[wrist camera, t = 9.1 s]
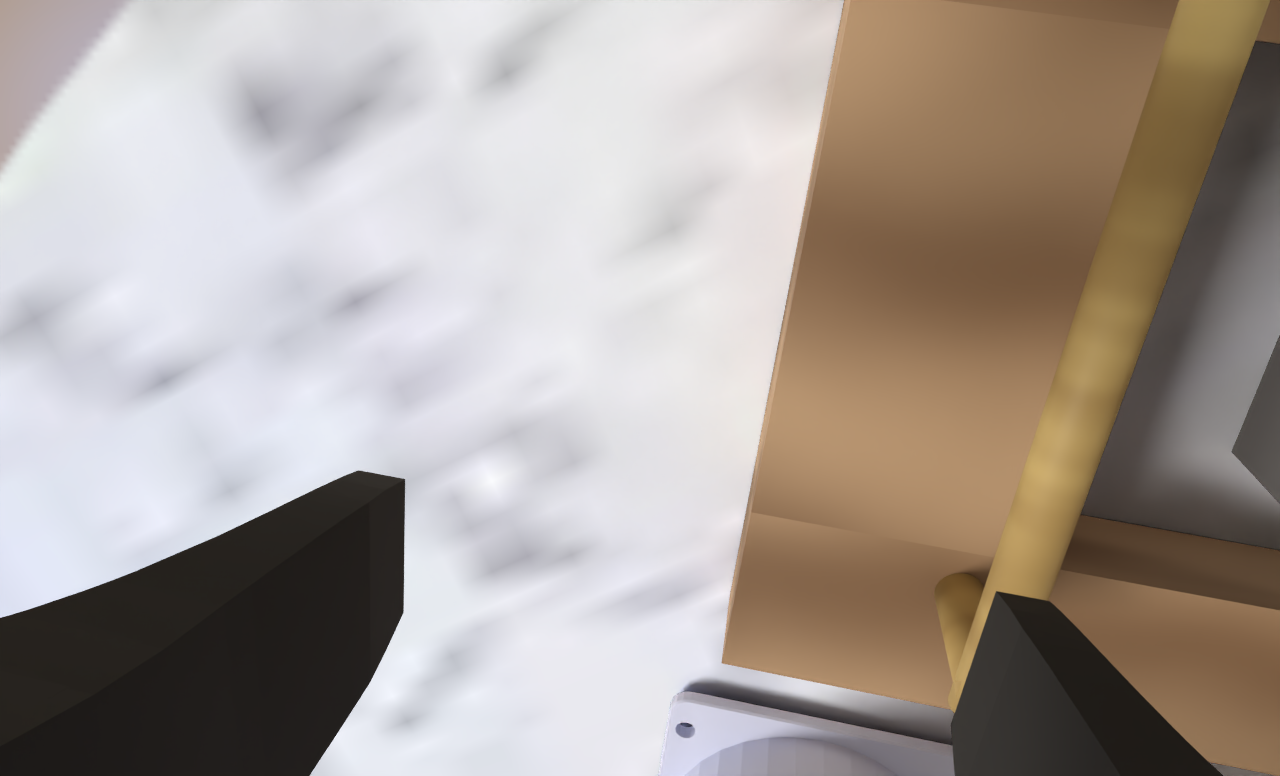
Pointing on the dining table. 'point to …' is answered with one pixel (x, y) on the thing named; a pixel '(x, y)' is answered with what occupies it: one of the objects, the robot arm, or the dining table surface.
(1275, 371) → the grey rectangular block
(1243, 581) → the tan wooden frame
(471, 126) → the dining table surface
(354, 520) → the robot arm
